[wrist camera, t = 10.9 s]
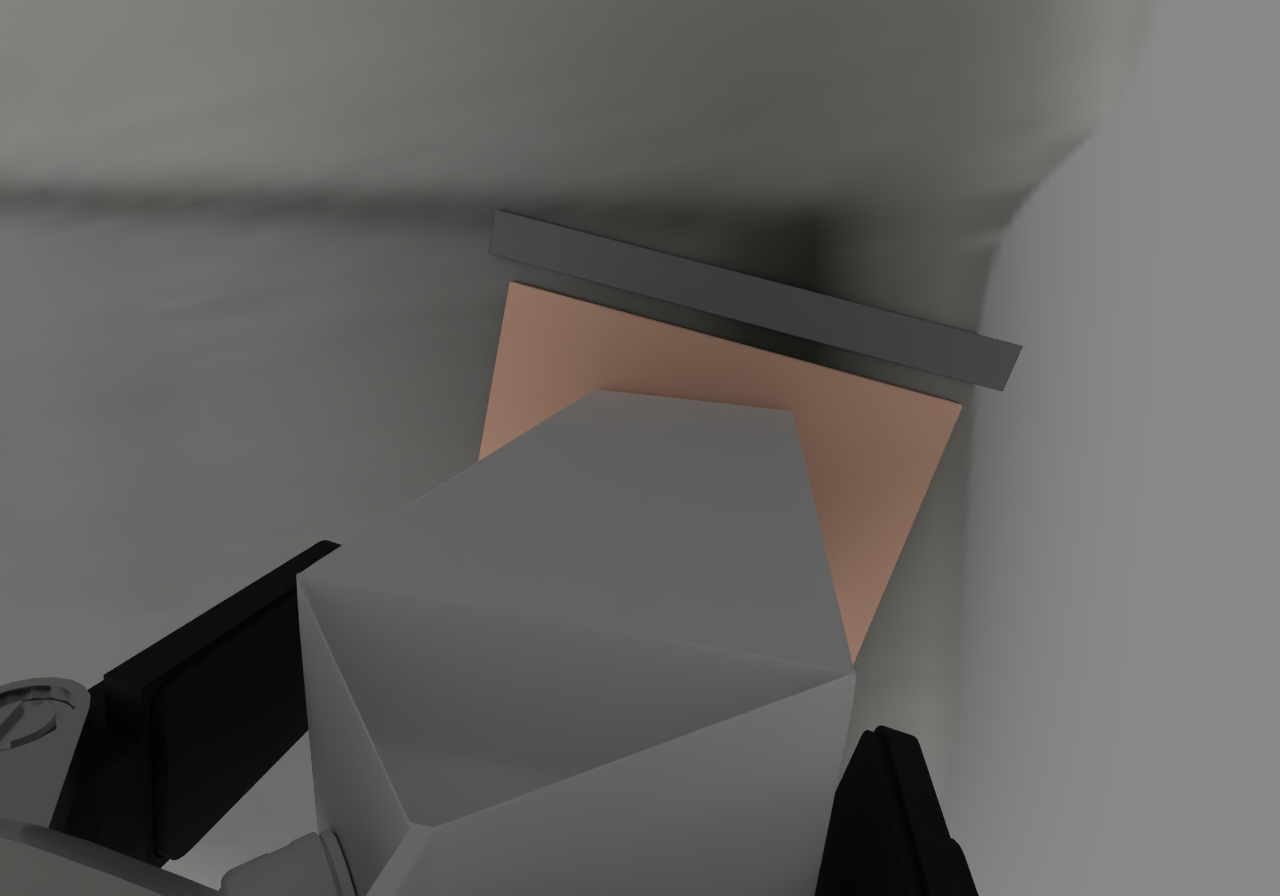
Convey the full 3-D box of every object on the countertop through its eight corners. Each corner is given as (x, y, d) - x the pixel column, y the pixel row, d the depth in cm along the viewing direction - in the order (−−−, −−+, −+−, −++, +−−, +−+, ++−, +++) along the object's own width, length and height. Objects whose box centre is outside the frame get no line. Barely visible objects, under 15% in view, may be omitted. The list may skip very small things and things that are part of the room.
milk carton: (793, 408, 21) (994, 1197, 3) (767, 593, 23) (783, 1759, 5) (594, 387, 22) (-162, 844, 4) (585, 563, 24) (45, 1408, 6)
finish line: (499, 210, 21) (495, 209, 21) (1018, 345, 19) (1022, 346, 19) (492, 253, 22) (488, 253, 22) (999, 389, 20) (1002, 391, 19)
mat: (514, 281, 22) (509, 281, 22) (959, 402, 20) (963, 405, 20) (463, 566, 26) (458, 571, 25) (837, 692, 24) (838, 698, 23)
